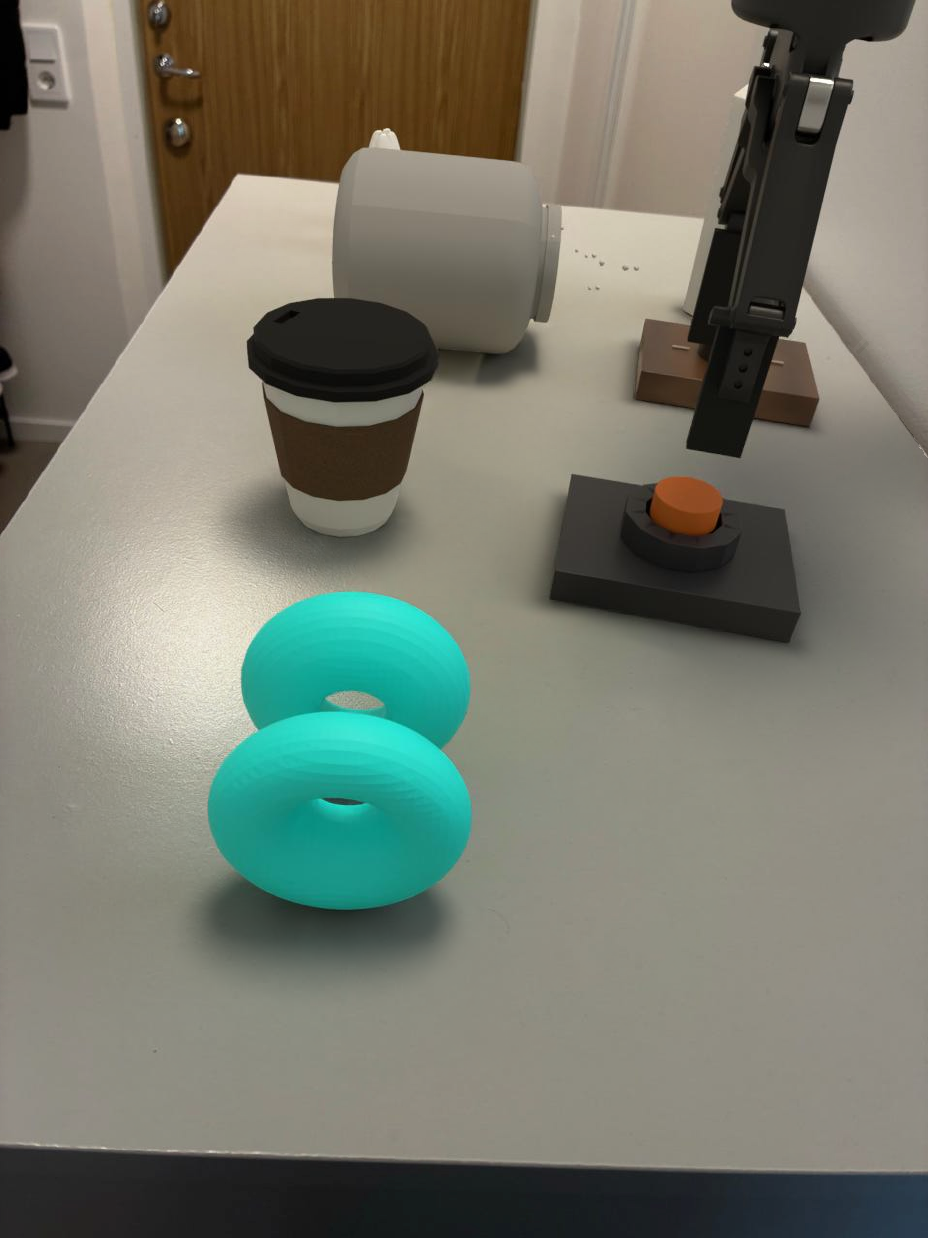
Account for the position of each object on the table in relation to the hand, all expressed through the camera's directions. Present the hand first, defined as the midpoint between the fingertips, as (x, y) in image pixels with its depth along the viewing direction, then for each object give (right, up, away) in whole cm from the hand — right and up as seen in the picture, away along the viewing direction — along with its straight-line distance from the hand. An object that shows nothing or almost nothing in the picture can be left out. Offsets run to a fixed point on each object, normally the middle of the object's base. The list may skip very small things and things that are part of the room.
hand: (710, 391), depth 53 cm
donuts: (-19, -22, -10) cm, 31 cm away
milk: (+12, +16, +39) cm, 44 cm away
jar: (-12, +12, +31) cm, 36 cm away
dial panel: (+8, +7, +28) cm, 30 cm away
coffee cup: (-21, -6, +9) cm, 24 cm away
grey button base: (-1, -9, +7) cm, 12 cm away
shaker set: (-22, +27, +48) cm, 59 cm away
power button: (0, -6, +5) cm, 8 cm away
